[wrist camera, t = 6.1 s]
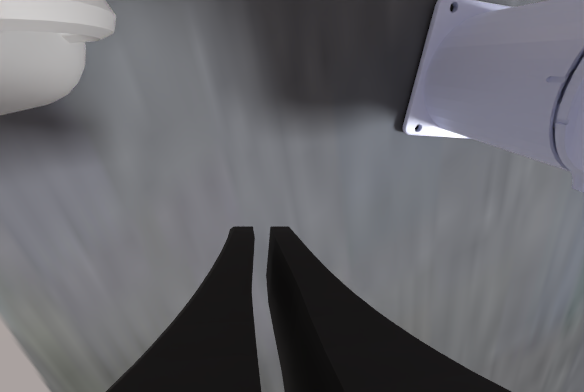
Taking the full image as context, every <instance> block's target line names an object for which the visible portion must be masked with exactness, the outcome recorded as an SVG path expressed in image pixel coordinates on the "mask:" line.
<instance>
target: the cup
mask: <svg viewBox="0 0 584 392" xmlns="http://www.w3.org/2000/svg"><path fill="white" fill-rule="evenodd" d="M115 22H116V15H115V14H114V12H113V11H112V9H111V8H110V6H109V5H108V3H107V2H106V0H0V115H5V114H9V113H13V112H18V111H22V110H27V109H31V108H35V107H40V106H44V105H48V104H50V103H53V102H55V101H57V100H59V99H61V98H62V97H64V96H66V95H68V94H69V93H70V92H71V91H72V89H73V88H74V87H75V86H76V85H77V84H78V82H79V80H80V78H81V75H82V72H83V70H84V67H85V53H86V46H85V42H92V41H99V40H102V39H104V38H106V37H108V36H110V35H112V34H113V33H114V30H115Z"/></svg>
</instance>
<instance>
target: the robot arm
mask: <svg viewBox="0 0 584 392" xmlns="http://www.w3.org/2000/svg"><path fill="white" fill-rule="evenodd" d="M451 4H453V6H454V7H453V11H452V12H451V11H450V6H451ZM417 125H419V127H418V129H417V130H415V127H416V126H417ZM403 132H404V133H406V134H409V135H422V136H438V137H454V138H471V139H474V140H477V141H480V142H483V143H486V144H489V145H492V146H495V147H498V148H501V149H504V150H507V151H510V152H513V153H516V154H519V155H522V156H525V157H528V158H531V159H534V160H537V161H540V162H543V163H546V164H549V165H552V166H555V167H558V168H561V169H564V170H567V171H570V172H571V174H572V179H573V181H572V188H573V189H575V190H578V191H581V192H583V193H584V0H547V1H542V2H537V3H531V4H526V5H521V6H516V7H510V6H504V5H498V4H493V3H487V2H482V1H476V0H438V1H437V3H436V5H435V8H434V12H433V16H432V20H431V23H430V27H429V31H428V34H427V38H426V42H425V46H424V49H423V53H422V57H421V61H420V64H419V68H418V72H417V75H416V79H415V83H414V87H413V90H412V94H411V98H410V101H409V105H408V109H407V113H406V116H405V120H404V124H403ZM254 240H255V237H254V231H253V227H233V228H231V229H230V232H229V235H228V238H227V240H226V243H225V245H224V247H223V249H222V251H221V253H220V255H219V256H218V258H217V260H216V262H215V263H214V265H213V267H212V269H211V270H210V272H209V273H208V275H207V276H206V278H205V279H204V281H203V282H202V284H201V285H200V287H199V288H198V290H197V291H196V292H195V294H194V295H193V297H192V298H191V299H190V301H189V302H188V303H187V304H186V306H185V307H184V308H183V310H182V311H181V312H180V313H179V314H178V316H177V317H176V318H175V319H174V321H173V322H172V323H171V324H170V325H169V326H168V328H167V329H166V330H165V331H164V332H163V333H162V334H161V335H160V337H159V338H158V339H157V340H156V341H155V342H154V343H153V344H152V346H151V347H150V348H149V349H148V350H147V351H146V352H145V353H144V354H143V355H142V356H141V357H140V358H139V359H138V360H137V361H136V363H135V364H134V365H133V366H132V367H130V368H129V369H128V370H127V371H126V372H125V373H124V374H123V375H122V376H121V377H120V378H119V379H118V380H117V381H116V382H115V383H114V384H113V385H112V386H111V387H110V388H109V389H108V390H107V391H106V392H261V385H260V376H259V367H258V358H257V348H256V338H255V327H254V316H253V305H252V273H253V256H254ZM266 278H267V291H268V303H269V308H270V314H271V319H272V324H273V329H274V334H275V340H276V345H277V350H278V355H279V360H280V365H281V370H282V376H283V383H284V389H285V392H511V391H509V390H507V389H505V388H503V387H501V386H499V385H498V384H496V383H494V382H492V381H490V380H488V379H486V378H484V377H482V376H480V375H478V374H476V373H474V372H473V371H471V370H469V369H467V368H465V367H464V366H462V365H460V364H459V363H457V362H455V361H453V360H452V359H450V358H448V357H447V356H445V355H443V354H441V353H440V352H438V351H436V350H435V349H433V348H431V347H430V346H428V345H427V344H425V343H423V342H422V341H420V340H419V339H417V338H415V337H414V336H412V335H411V334H409V333H408V332H406V331H405V330H403V329H402V328H400V327H399V326H397V325H396V324H395V323H393V322H392V321H390V320H389V319H387V318H386V317H384V316H383V315H382V314H380V313H379V312H378V311H376V310H375V309H374V308H372V307H371V306H370V305H369V304H367V303H366V302H365V301H363V300H362V299H361V298H360V297H358V296H357V295H356V294H355V293H353V292H352V291H351V290H350V289H349V288H348V287H346V286H345V285H344V284H343V283H342V282H341V281H340V280H339V279H338V278H337V277H335V276H334V275H333V274H332V273H331V272H330V271H329V270H328V269H327V268H326V267H325V266H324V265H323V264H322V263H321V262H320V261H319V260H318V259H317V258H316V257H315V256H314V255H313V253H312V252H311V251H310V250H309V249H308V248H307V247H306V246H305V245H304V243H303V242H302V241H301V240H300V239H299V238H298V236H297V235H296V234H295V233H294V232H293V231H292V230H291V229H290V227H271V228H270V239H269V250H268V262H267V273H266Z"/></svg>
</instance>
